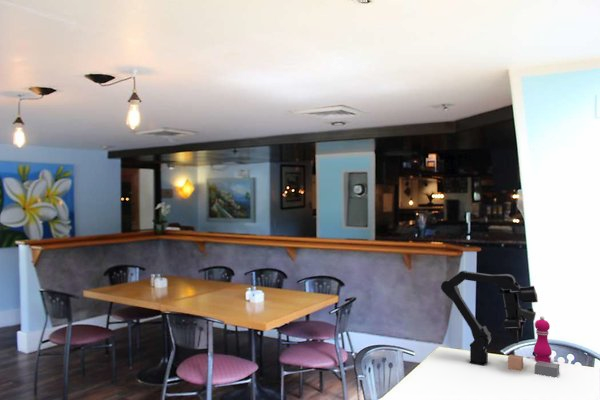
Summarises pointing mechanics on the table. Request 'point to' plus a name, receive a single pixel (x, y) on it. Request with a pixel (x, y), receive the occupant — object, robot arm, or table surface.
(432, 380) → the table surface
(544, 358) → the pepper mill
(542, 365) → the gray box
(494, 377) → the table surface
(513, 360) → the terracotta block
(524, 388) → the table surface
